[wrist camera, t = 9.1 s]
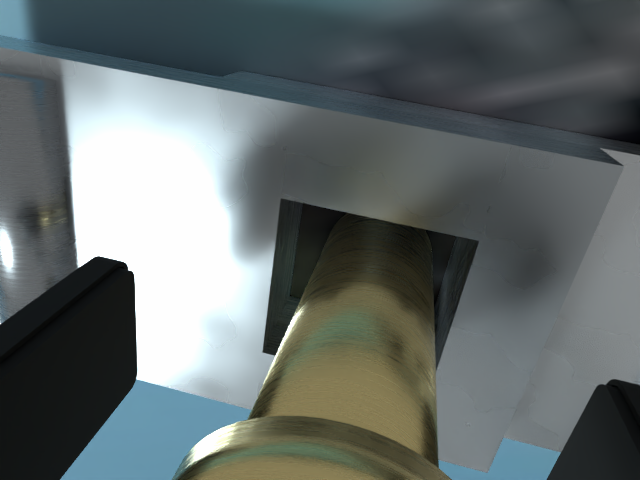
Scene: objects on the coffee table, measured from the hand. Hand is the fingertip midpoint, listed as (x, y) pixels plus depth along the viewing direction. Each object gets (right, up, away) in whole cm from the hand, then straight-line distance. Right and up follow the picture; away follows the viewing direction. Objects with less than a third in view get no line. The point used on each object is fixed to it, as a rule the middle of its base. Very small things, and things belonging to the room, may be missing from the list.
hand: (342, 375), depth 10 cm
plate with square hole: (+1, +2, +5) cm, 6 cm away
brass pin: (+1, +2, +5) cm, 6 cm away
